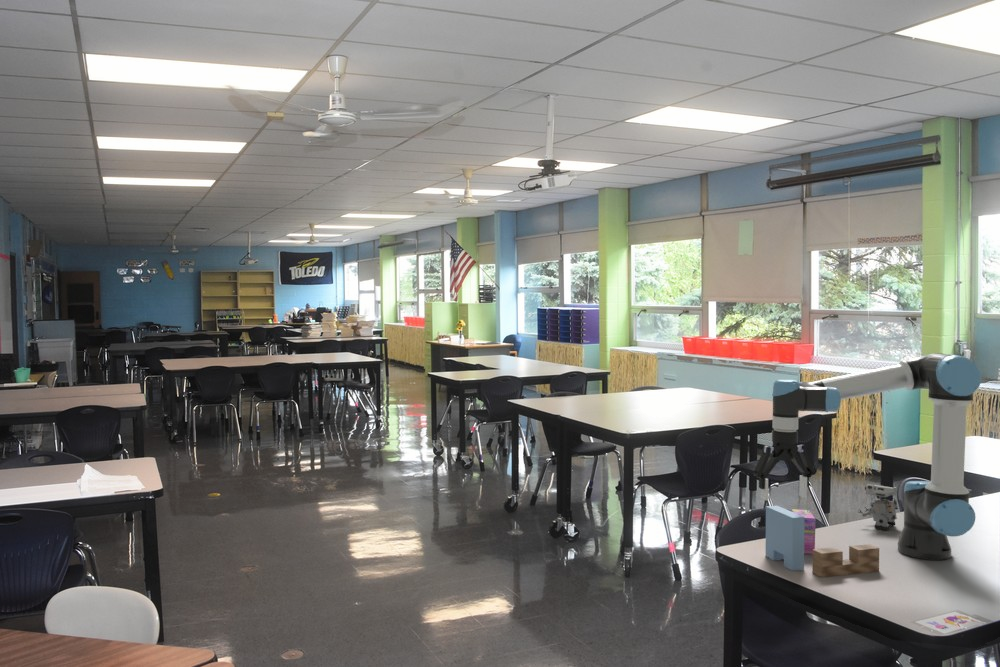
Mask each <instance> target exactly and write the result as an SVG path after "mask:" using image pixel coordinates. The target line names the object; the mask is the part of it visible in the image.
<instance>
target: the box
mask: <svg viewBox="0 0 1000 667" xmlns="http://www.w3.org/2000/svg"><path fill="white" fill-rule="evenodd" d="M791 512H794V513H796V514H798V515H801V516H803V517H804V553H809V554H808V555H813V549H816V521H817V520H816V518H815V516H814V515H813V513H812V512H811V511H810V510H809V509H795V508H794V509H793V508H792V509H791Z"/></svg>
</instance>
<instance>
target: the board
mask: <svg viewBox="0 0 1000 667" xmlns="http://www.w3.org/2000/svg"><path fill="white" fill-rule="evenodd" d="M766 556H767V557H766ZM765 557H766V558H768V557H769V558H768V559H770V560H772V561H781V560H780V559H784V560H783V567H785V568H786V567H787V568H786V569H789V570H791V571H792V572H793V571H803V570H802V569H804V570H805V554H804V517H803V516H801V515H798V514H796V513H794V512H792V510H788V509H786V508H784V507H781V506H779V505H767V506H765Z"/></svg>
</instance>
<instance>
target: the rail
mask: <svg viewBox="0 0 1000 667" xmlns="http://www.w3.org/2000/svg"><path fill="white" fill-rule="evenodd" d="M848 549H849V550H848V559H847V558H846V559H844V558H843V556H844V552H843V550H840V549H838V548H836V547H835V546H834V547H825V548H815V549H813V554H812V566H811V568H812V570H811V571H812V573H813V574H814V575H816V576H818V577H820V578H826V577H835V576H836V577H837V576H844V575H845V576H846V575H856V574H865V573H874V572H876V573H877V572H880V548H879V547H878V546H876V545H873V544H871V543H869V544H859V545H849V546H848Z"/></svg>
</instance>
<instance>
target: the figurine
mask: <svg viewBox="0 0 1000 667" xmlns="http://www.w3.org/2000/svg"><path fill="white" fill-rule="evenodd" d="M864 490H865V495H870V496H875V497H876V499H874V501H873V502H870V508H869V509H868V508H867V507H866V506H865V507H864V509H865V510H864V512H862V510H861V509H860V508H859V509H858V510H857V513H861V514H862V517H863V518H866V516H871V515H872V521H873V522H875V525H874V528H875V530H879V531H880V530H882V531H885V532H886V531H888V530H889V529H890V528H889V526H891V527H894V526H896V520H897V519H898V516H897V513H896V512H897V511H896V510H899V508H898V507H899V506H898V502H897V499H895V498H894V497H891V498H890V499H886V498H888V497H890V496H896V495H897V489H896V488H895V487H892V486H891V487H890V486H884V485H883V484H881V485H878V484H871V483H866V486H865V487H864ZM892 499H893V500H892Z"/></svg>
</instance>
